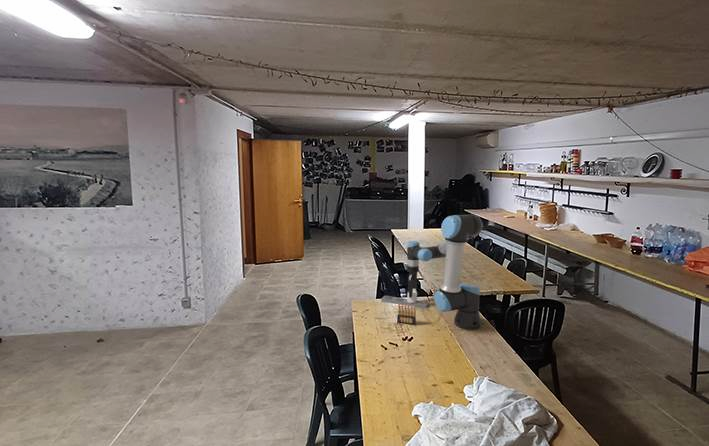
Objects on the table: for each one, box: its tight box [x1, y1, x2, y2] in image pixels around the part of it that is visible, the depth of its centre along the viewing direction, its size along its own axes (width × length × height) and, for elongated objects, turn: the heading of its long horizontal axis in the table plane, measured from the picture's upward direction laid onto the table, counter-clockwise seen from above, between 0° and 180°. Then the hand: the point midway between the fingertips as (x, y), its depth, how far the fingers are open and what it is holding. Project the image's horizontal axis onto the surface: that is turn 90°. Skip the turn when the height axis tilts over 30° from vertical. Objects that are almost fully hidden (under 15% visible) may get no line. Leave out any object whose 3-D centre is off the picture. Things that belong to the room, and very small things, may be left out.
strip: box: [380, 295, 430, 309], centre depth 254 cm, size 42×7×4 cm, turn 66°
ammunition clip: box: [396, 303, 417, 326], centre depth 226 cm, size 11×2×12 cm, turn 71°
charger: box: [406, 291, 418, 304], centre depth 253 cm, size 5×4×8 cm
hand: (412, 300), depth 254 cm, fingers open, 6 cm apart
